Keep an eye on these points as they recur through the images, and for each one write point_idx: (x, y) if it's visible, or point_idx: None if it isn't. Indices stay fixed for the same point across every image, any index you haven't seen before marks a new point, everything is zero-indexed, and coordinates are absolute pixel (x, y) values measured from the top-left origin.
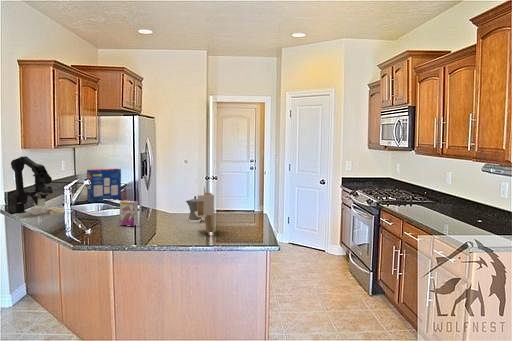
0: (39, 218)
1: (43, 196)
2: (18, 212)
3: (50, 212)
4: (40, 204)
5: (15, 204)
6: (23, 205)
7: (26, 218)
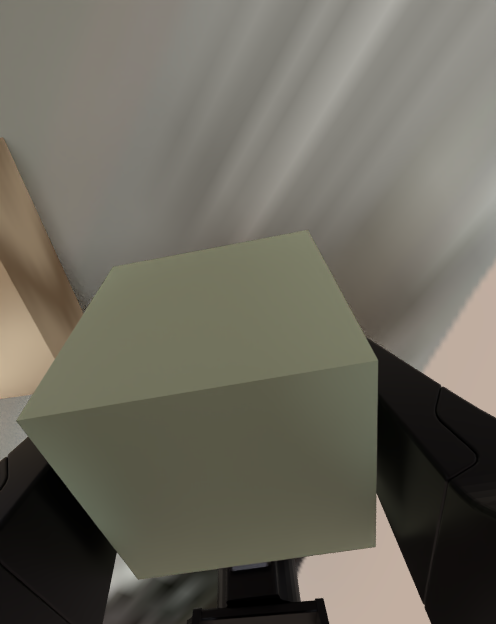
0: (374, 10)
1: (9, 611)
2: None
3: (35, 250)
4: (277, 258)
5: (324, 608)
6: (235, 582)
7: (464, 204)
